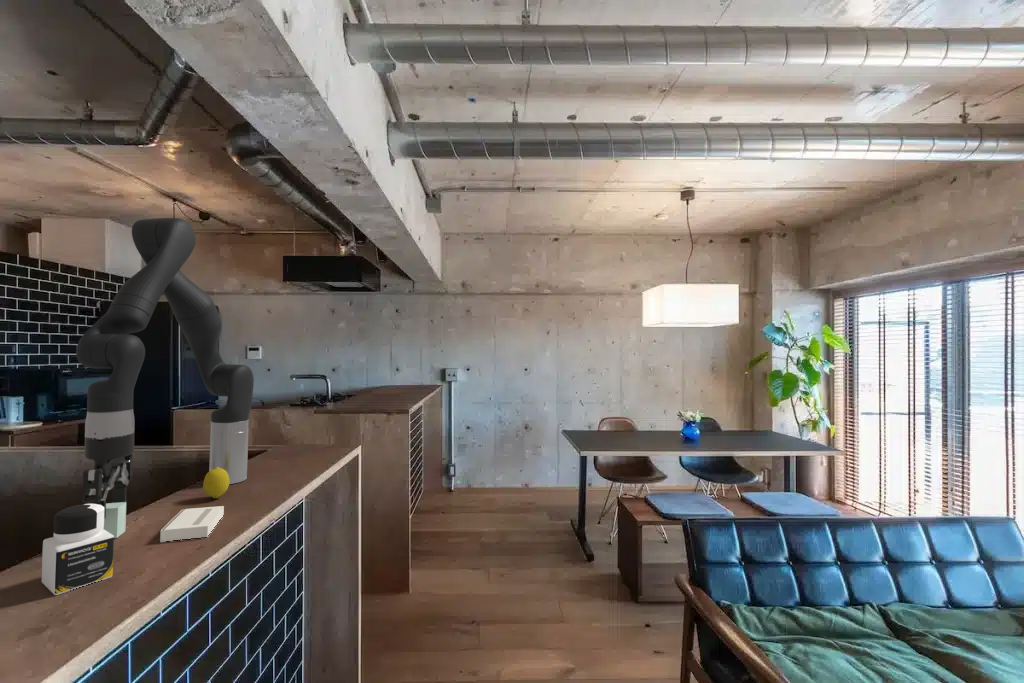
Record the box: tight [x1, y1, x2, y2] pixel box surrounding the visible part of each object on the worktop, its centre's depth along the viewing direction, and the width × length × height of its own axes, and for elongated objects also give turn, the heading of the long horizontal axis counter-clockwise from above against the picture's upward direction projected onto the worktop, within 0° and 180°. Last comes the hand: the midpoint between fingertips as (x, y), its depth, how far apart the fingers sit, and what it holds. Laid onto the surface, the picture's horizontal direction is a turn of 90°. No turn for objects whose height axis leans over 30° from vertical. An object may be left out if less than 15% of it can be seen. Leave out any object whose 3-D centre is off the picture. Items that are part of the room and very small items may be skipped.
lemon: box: [202, 467, 230, 499], centre depth 115 cm, size 6×6×8 cm
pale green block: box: [103, 501, 127, 539], centre depth 92 cm, size 4×5×6 cm
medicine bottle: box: [41, 503, 115, 596], centre depth 75 cm, size 7×7×12 cm
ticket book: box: [159, 505, 225, 543], centre depth 97 cm, size 12×8×2 cm, turn 19°
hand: (108, 512), depth 92 cm, fingers open, 8 cm apart
